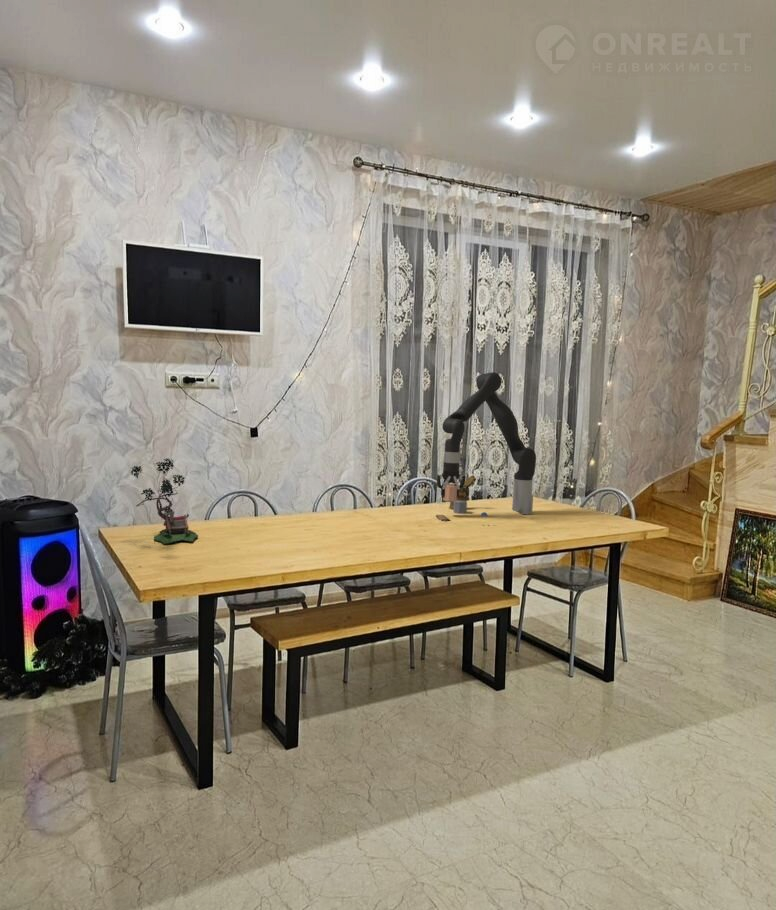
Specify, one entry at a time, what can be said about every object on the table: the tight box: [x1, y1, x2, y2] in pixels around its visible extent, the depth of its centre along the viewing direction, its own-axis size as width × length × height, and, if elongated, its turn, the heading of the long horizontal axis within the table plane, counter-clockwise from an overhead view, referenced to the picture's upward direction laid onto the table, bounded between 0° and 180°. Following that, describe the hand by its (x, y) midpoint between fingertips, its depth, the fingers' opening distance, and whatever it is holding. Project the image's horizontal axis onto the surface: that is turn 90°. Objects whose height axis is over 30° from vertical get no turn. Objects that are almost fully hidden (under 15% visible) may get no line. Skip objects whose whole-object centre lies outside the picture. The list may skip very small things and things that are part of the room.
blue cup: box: [453, 500, 468, 515], centre depth 343 cm, size 6×6×7 cm
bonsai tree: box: [130, 457, 199, 546], centre depth 267 cm, size 35×24×32 cm
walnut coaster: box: [435, 514, 452, 522], centre depth 333 cm, size 10×10×1 cm
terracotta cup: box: [442, 483, 457, 502], centre depth 331 cm, size 6×6×7 cm
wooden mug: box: [448, 475, 475, 511], centre depth 354 cm, size 9×14×18 cm, turn 118°
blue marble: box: [480, 511, 488, 517], centre depth 338 cm, size 3×3×3 cm
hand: (449, 496), depth 332 cm, fingers closed on terracotta cup, 5 cm apart
